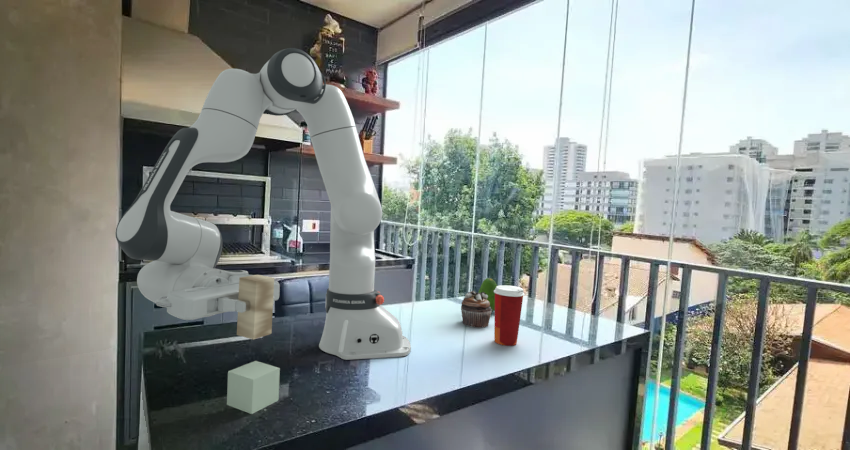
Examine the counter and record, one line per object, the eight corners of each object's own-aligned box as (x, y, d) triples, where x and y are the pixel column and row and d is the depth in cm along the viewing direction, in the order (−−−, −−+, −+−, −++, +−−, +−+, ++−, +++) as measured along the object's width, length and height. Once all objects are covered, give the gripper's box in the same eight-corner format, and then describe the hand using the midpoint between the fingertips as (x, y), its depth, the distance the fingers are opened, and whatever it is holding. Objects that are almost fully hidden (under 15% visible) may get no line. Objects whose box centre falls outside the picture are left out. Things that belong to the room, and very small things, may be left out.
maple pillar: (255, 329, 79) (257, 274, 78) (271, 333, 77) (274, 277, 77) (236, 334, 75) (239, 277, 75) (253, 339, 74) (256, 280, 73)
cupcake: (456, 325, 133) (458, 292, 132) (464, 317, 142) (466, 287, 141) (487, 330, 129) (489, 297, 129) (493, 322, 138) (496, 291, 138)
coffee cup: (526, 343, 119) (530, 288, 118) (510, 349, 113) (514, 292, 112) (500, 335, 125) (504, 283, 124) (483, 341, 119) (487, 286, 118)
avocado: (475, 314, 147) (478, 278, 146) (476, 308, 155) (479, 275, 154) (499, 316, 146) (502, 281, 145) (499, 310, 154) (502, 277, 153)
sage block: (254, 392, 81) (255, 360, 81) (278, 400, 78) (279, 368, 78) (226, 405, 76) (228, 371, 75) (251, 414, 73) (253, 379, 73)
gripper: (150, 282, 72) (206, 296, 66) (249, 269, 91) (301, 278, 84) (149, 320, 73) (205, 337, 66) (248, 299, 91) (299, 310, 85)
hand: (259, 304), depth 76 cm, fingers closed on maple pillar, 4 cm apart
